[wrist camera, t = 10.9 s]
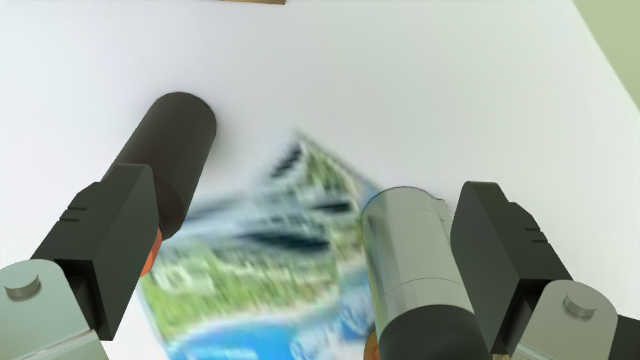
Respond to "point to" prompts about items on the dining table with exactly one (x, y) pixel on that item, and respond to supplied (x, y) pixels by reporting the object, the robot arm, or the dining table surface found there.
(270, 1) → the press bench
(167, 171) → the bottle
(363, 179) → the dining table surface
